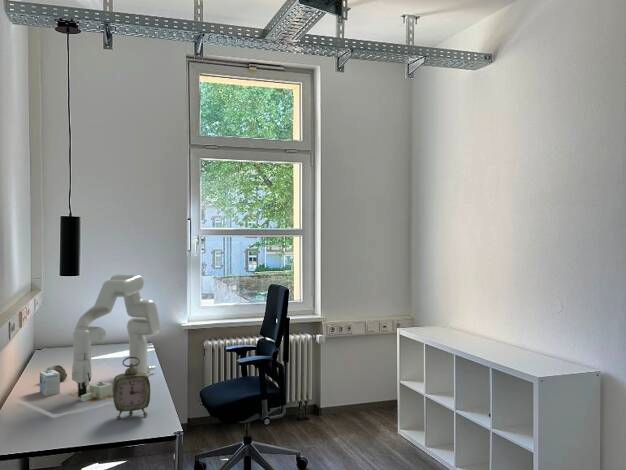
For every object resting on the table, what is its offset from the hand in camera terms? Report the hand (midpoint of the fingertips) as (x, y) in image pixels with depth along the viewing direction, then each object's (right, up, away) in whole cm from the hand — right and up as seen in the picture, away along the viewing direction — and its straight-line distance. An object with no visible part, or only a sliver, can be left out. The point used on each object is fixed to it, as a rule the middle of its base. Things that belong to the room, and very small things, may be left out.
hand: (82, 396), depth 258 cm
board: (+5, -2, +10) cm, 11 cm away
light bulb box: (-21, -3, +12) cm, 24 cm away
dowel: (+5, -1, 0) cm, 5 cm away
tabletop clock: (+29, -2, -22) cm, 37 cm away
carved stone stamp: (-30, -3, +38) cm, 48 cm away
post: (+6, -1, +6) cm, 9 cm away
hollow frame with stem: (+5, -1, +3) cm, 6 cm away
